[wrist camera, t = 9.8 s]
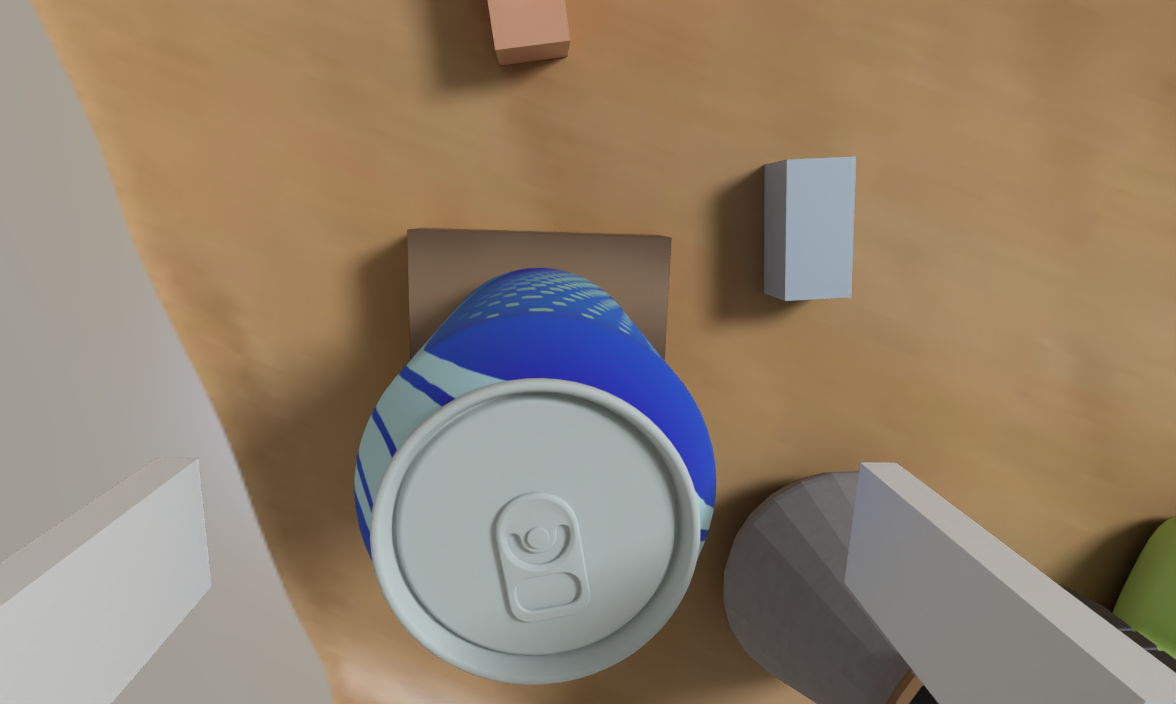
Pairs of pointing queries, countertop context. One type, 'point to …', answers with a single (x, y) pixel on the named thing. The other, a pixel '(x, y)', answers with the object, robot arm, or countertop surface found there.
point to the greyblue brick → (809, 228)
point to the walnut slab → (473, 257)
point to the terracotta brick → (529, 30)
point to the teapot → (1153, 590)
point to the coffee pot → (811, 599)
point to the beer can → (535, 484)
